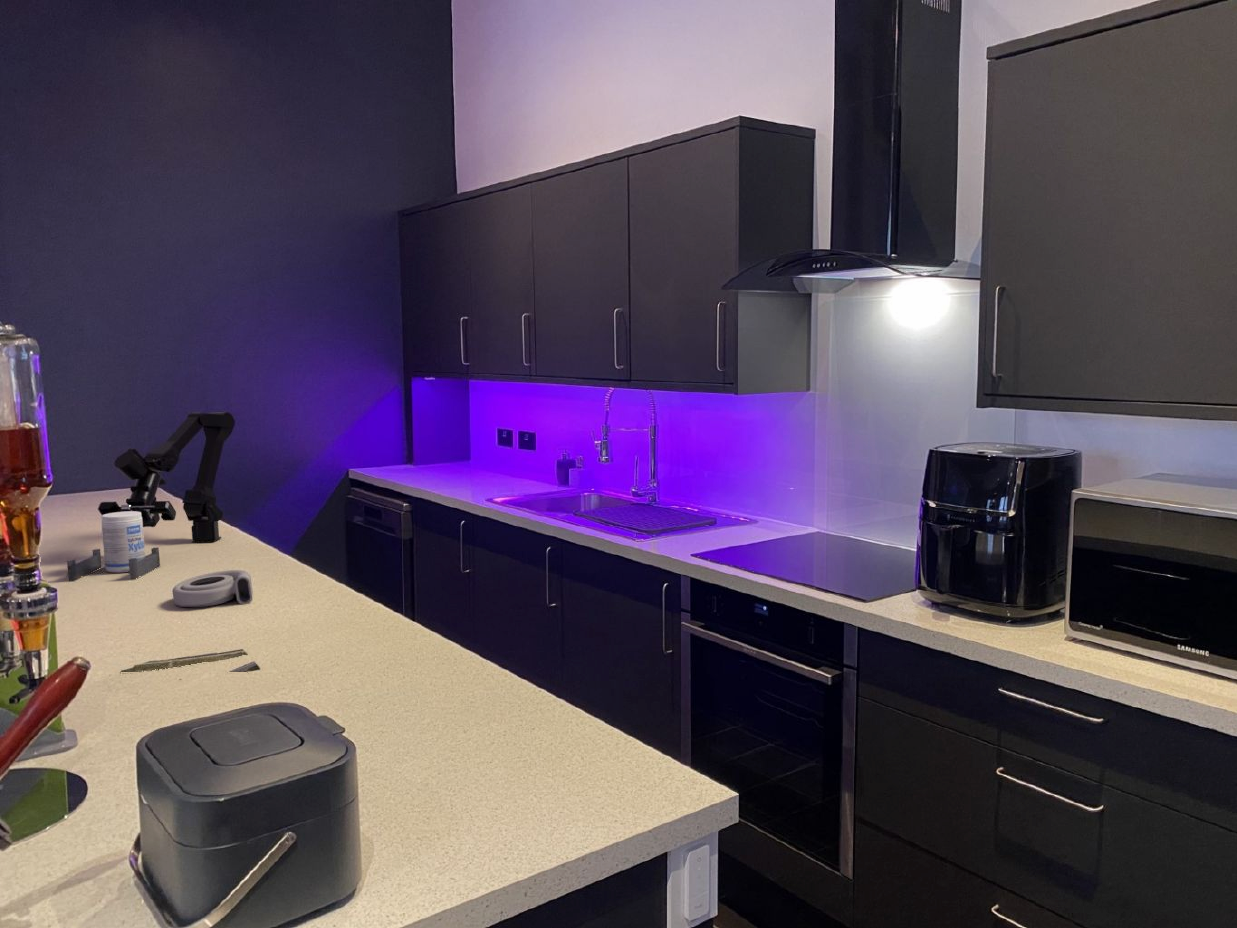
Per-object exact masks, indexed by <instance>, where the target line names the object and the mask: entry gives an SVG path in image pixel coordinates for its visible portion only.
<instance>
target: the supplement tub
mask: <svg viewBox="0 0 1237 928" xmlns="http://www.w3.org/2000/svg"><path fill="white" fill-rule="evenodd" d="M101 532H102V544H103V545H102V546H103V554H104V555H103V558H104V567H105V570H106V571H107V572H109V573H113V574H114V573H116V574H117V573H119V574H121V573H130V570H129V559H130V558H137V560H139V559H141V558H143V557H145V556H146V551H145V550H146V549H145V537H144V527H143V522H142V516H141V512H137V511H126V512H115V513H109V514H104V515H101Z"/></svg>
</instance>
